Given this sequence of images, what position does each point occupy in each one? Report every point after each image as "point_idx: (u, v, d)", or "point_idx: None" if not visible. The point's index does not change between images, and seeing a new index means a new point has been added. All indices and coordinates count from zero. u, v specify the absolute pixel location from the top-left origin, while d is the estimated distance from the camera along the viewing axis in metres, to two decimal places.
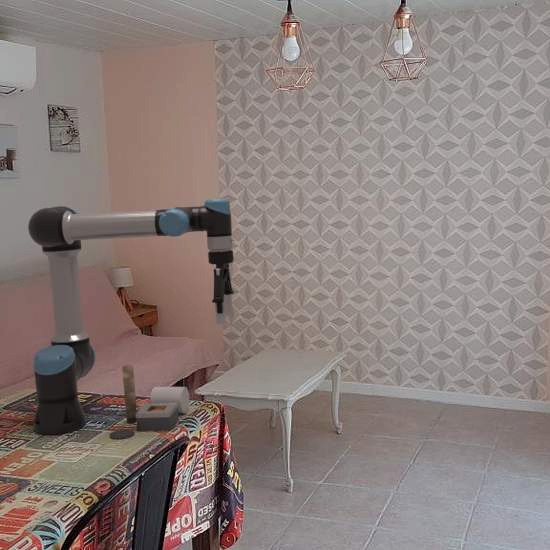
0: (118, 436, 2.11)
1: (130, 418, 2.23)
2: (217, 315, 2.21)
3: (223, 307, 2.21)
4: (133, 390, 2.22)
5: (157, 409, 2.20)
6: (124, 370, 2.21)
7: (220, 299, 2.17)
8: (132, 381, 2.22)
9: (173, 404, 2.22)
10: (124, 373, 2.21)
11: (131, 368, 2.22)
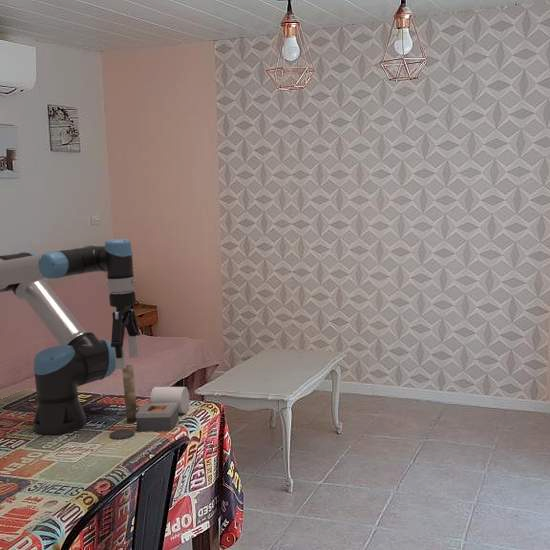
0: (118, 436, 2.11)
1: (130, 418, 2.23)
2: (117, 360, 2.15)
3: (122, 351, 2.14)
4: (133, 390, 2.22)
5: (157, 409, 2.20)
6: (124, 370, 2.21)
7: (118, 344, 2.11)
8: (132, 381, 2.22)
9: (173, 404, 2.22)
10: (124, 373, 2.21)
11: (131, 368, 2.22)
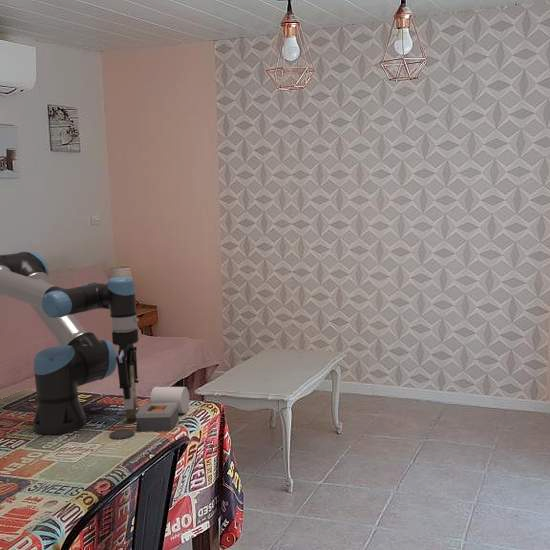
0: (118, 436, 2.11)
1: (130, 418, 2.23)
2: (125, 400, 2.21)
3: (130, 393, 2.21)
4: (133, 390, 2.22)
5: (157, 409, 2.20)
6: None
7: (126, 387, 2.18)
8: (132, 381, 2.22)
9: (173, 404, 2.22)
10: None
11: (131, 368, 2.22)
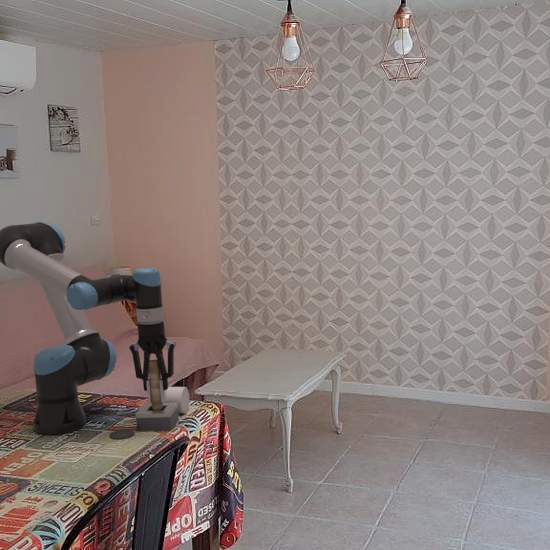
0: (118, 436, 2.11)
1: None
2: None
3: (147, 385, 2.17)
4: (152, 386, 2.17)
5: None
6: None
7: None
8: (151, 377, 2.16)
9: (173, 404, 2.22)
10: None
11: (150, 363, 2.16)
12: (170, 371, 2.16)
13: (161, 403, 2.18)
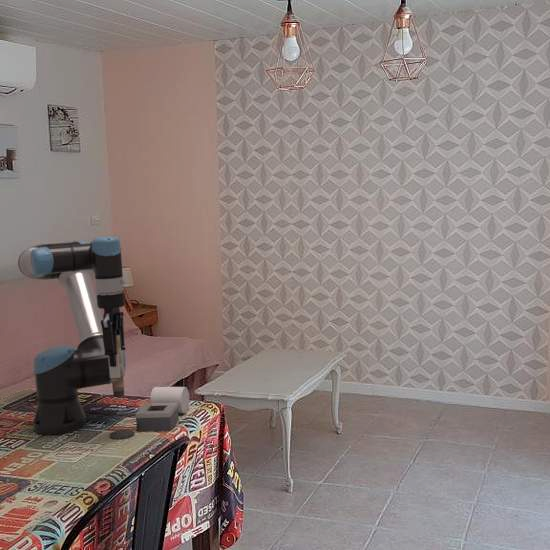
0: (118, 436, 2.11)
1: (117, 391, 2.09)
2: (110, 368, 2.08)
3: (117, 360, 2.07)
4: (120, 361, 2.09)
5: None
6: None
7: (112, 353, 2.04)
8: (119, 352, 2.09)
9: (173, 404, 2.22)
10: None
11: (118, 338, 2.08)
12: (123, 340, 2.14)
13: None
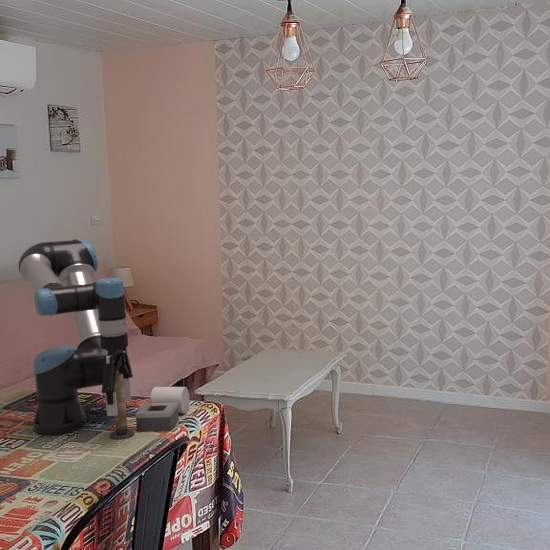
0: (118, 436, 2.11)
1: (120, 430, 2.11)
2: (108, 406, 2.04)
3: (114, 398, 2.04)
4: (123, 400, 2.10)
5: None
6: None
7: (109, 390, 2.01)
8: (122, 391, 2.10)
9: (173, 404, 2.22)
10: None
11: (121, 377, 2.09)
12: (130, 368, 2.19)
13: None
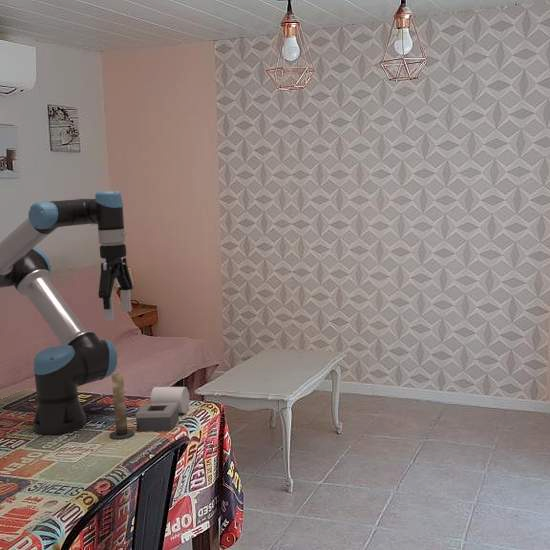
0: (118, 436, 2.11)
1: (120, 430, 2.11)
2: (105, 311, 2.15)
3: (110, 303, 2.14)
4: (123, 400, 2.10)
5: None
6: (113, 379, 2.09)
7: (105, 294, 2.11)
8: (122, 391, 2.10)
9: (173, 404, 2.22)
10: (113, 382, 2.09)
11: (121, 377, 2.09)
12: (130, 281, 2.29)
13: None
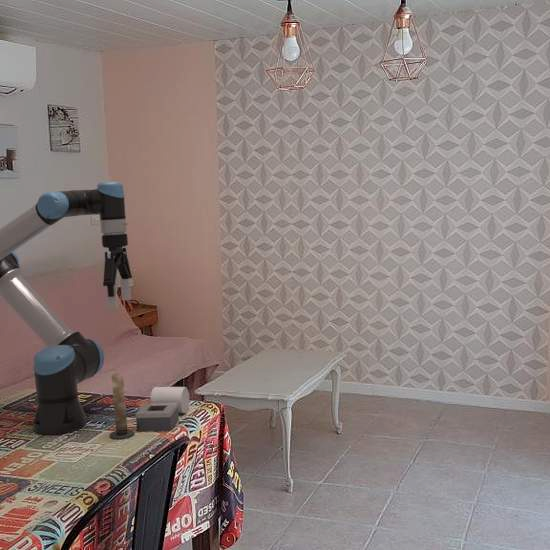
0: (118, 436, 2.11)
1: (120, 430, 2.11)
2: (109, 298, 2.20)
3: (114, 290, 2.20)
4: (123, 400, 2.10)
5: None
6: (113, 379, 2.09)
7: (110, 282, 2.16)
8: (122, 391, 2.10)
9: (173, 404, 2.22)
10: (113, 382, 2.09)
11: (121, 377, 2.09)
12: None
13: None
